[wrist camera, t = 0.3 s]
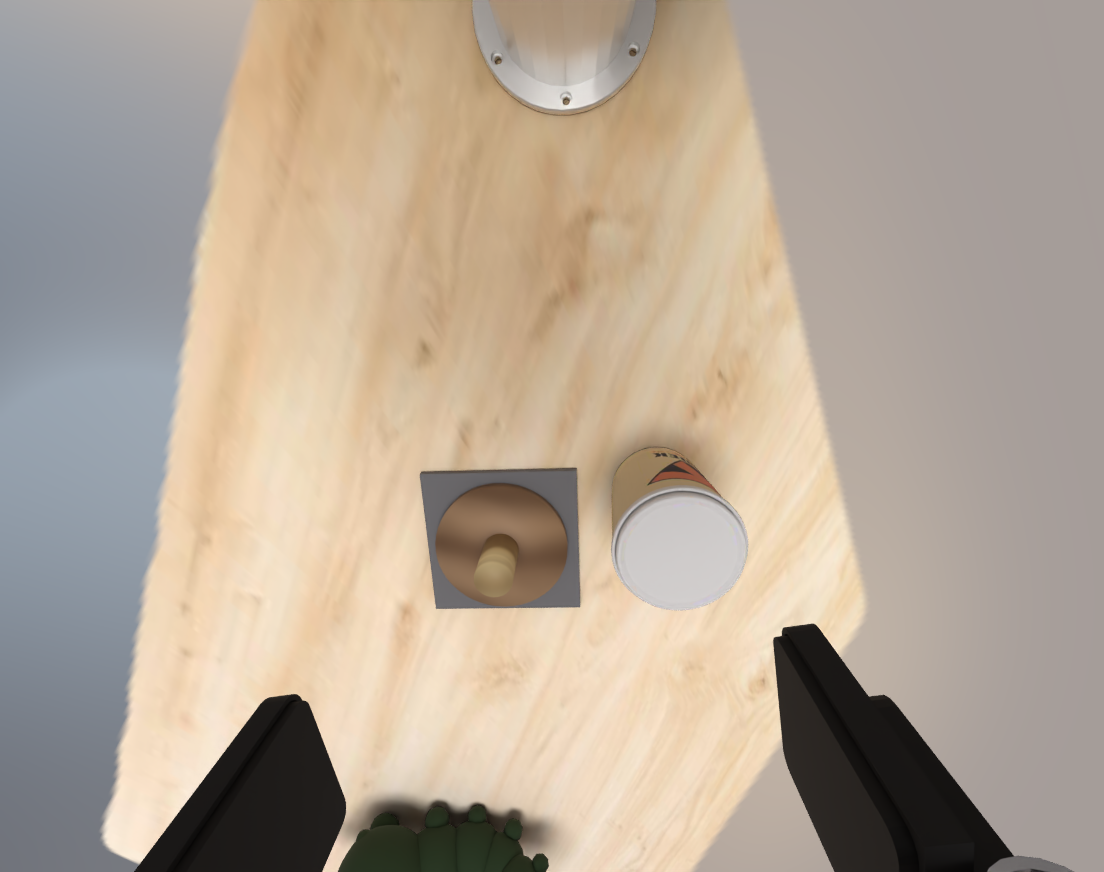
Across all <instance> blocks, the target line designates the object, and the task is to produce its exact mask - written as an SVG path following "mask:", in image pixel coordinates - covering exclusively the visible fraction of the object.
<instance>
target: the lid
mask: <svg viewBox="0 0 1104 872" xmlns="http://www.w3.org/2000/svg"><path fill="white" fill-rule="evenodd" d="M435 547H436V555H437V559H438V562H439V565H440V567H441V569H442V571H443V573H444V575H445V576H446V578H447V579H448V580H449V582H450V583H451V584H452V585H453V586H454V587H455V588H456V589H457V590H459V591H460V592H461V593H463V594H464V595H466V596H467V597H469V598H471V599H473V600H475V601H478V602H480V603H484V604H487V605H492V606H503V607H507V606H517V605H522V604H525V603H528V602H531V601H533V600H535V599H537V598H539V597H541V596H542V595H544V594H545V593H546V592H548V591H549V590H550V589H551V588H552V587H553V586H554V585H555V584H556V582H557V581H558V579H559V578H560V576H561V574H562V572H563V570H564V567H565V564H566V559H567V534H566V530H565V526H564V524H563V521H562V519H561V517H560V516H559V514H558V512H557V511H556V510H555V509H554V507H553V506H552V505H551V504H550V503H549V502H548V501H547V500H546V499H544V498H543V497H542V496H540V495H539V494H537V493H535V492H534V491H532V490H530V489H527V488H525V487H522V486H518V485H514V484H508V483H492V484H486V485H481V486H478V487H476V488H473V489H471V490H469V491H467V492H465V493H464V494H462V495H461V496H459V497H458V498H457V499H456V500H455V501H454V502H453V503H452V504H451V505H450V507H449V508H448V509H447V511H446V513H445V514H444V516H443V518H442V520H441V522H440V524H439V527H438V530H437V534H436V541H435Z"/></svg>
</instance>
